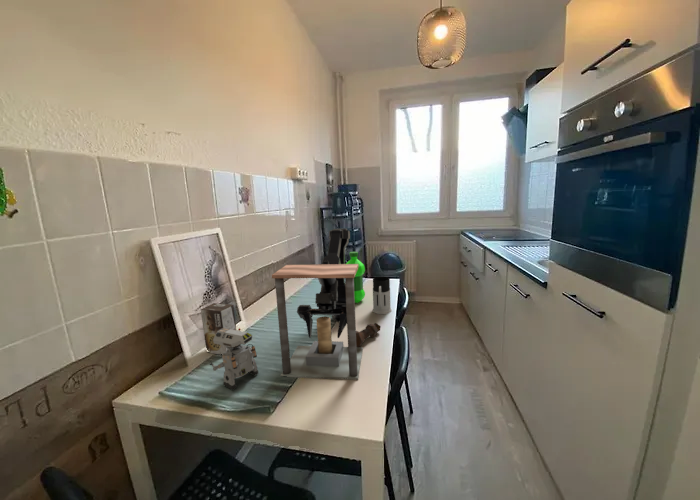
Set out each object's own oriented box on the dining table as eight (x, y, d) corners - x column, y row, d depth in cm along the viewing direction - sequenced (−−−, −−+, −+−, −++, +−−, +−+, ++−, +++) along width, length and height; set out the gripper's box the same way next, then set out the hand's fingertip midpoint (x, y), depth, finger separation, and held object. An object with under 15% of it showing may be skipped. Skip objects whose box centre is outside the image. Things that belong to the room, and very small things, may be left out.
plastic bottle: (342, 299, 151) (339, 252, 147) (360, 296, 155) (358, 249, 151) (350, 305, 142) (348, 255, 138) (369, 302, 146) (368, 252, 142)
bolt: (379, 336, 113) (357, 350, 101) (369, 328, 115) (346, 340, 103) (385, 325, 111) (363, 338, 99) (375, 316, 113) (353, 328, 101)
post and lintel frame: (298, 347, 104) (291, 261, 98) (362, 348, 101) (359, 260, 95) (280, 376, 87) (271, 274, 81) (358, 379, 84) (354, 274, 78)
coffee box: (239, 347, 106) (234, 304, 103) (226, 356, 100) (221, 311, 97) (219, 343, 109) (214, 302, 106) (205, 352, 103) (199, 308, 100)
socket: (314, 350, 101) (313, 340, 100) (343, 351, 100) (343, 341, 99) (306, 367, 91) (305, 356, 90) (339, 368, 90) (338, 357, 89)
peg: (316, 358, 95) (313, 320, 92) (324, 352, 98) (322, 315, 96) (327, 362, 92) (324, 323, 90) (335, 355, 96) (333, 318, 94)
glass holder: (391, 307, 138) (391, 276, 135) (390, 319, 124) (390, 285, 122) (373, 306, 140) (372, 276, 137) (370, 318, 126) (369, 285, 123)
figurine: (238, 365, 94) (233, 321, 91) (262, 376, 87) (257, 328, 85) (211, 380, 86) (205, 332, 84) (235, 393, 80) (229, 342, 77)
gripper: (296, 281, 96) (288, 328, 87) (352, 281, 94) (350, 328, 85) (304, 296, 105) (297, 340, 96) (356, 296, 103) (354, 341, 94)
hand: (323, 337), depth 93 cm, fingers open, 9 cm apart
